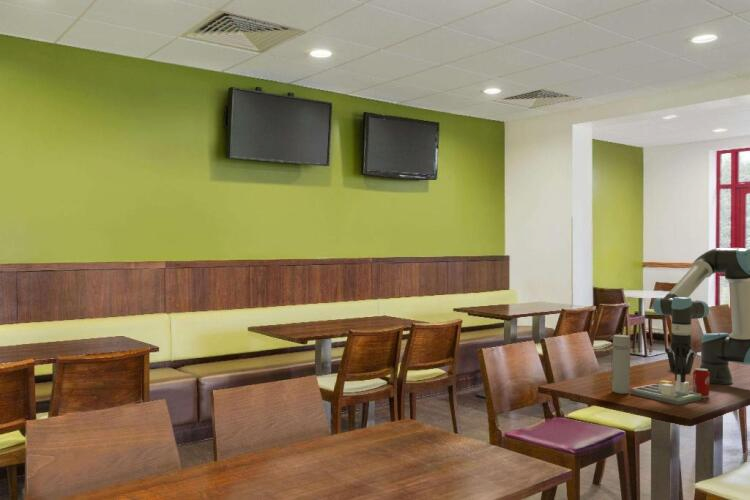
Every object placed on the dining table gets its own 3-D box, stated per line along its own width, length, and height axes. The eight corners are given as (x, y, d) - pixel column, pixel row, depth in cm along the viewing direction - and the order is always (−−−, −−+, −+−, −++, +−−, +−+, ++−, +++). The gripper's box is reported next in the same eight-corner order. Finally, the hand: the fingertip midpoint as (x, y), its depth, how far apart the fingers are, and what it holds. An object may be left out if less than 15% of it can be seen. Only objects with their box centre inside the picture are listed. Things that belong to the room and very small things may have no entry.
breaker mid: (663, 391, 282) (664, 380, 282) (672, 393, 279) (672, 381, 279) (658, 392, 280) (658, 381, 280) (667, 394, 277) (667, 382, 277)
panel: (653, 389, 293) (653, 383, 293) (701, 399, 275) (701, 393, 275) (630, 393, 284) (630, 388, 284) (678, 404, 266) (678, 398, 266)
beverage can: (710, 398, 277) (711, 370, 277) (695, 397, 278) (695, 370, 278) (706, 395, 283) (707, 367, 283) (690, 394, 284) (691, 367, 284)
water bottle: (630, 391, 289) (631, 335, 288) (629, 395, 282) (630, 337, 281) (608, 389, 293) (609, 333, 292) (606, 392, 285) (607, 336, 285)
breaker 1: (666, 395, 276) (666, 383, 276) (675, 397, 272) (675, 385, 272) (661, 396, 273) (661, 384, 273) (670, 398, 270) (670, 386, 270)
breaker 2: (680, 392, 282) (680, 380, 282) (689, 394, 278) (689, 382, 278) (675, 393, 279) (675, 381, 279) (684, 395, 276) (684, 383, 276)
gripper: (661, 332, 277) (660, 387, 277) (691, 336, 266) (690, 393, 267) (671, 331, 281) (670, 385, 282) (701, 335, 271) (700, 391, 271)
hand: (680, 389), depth 274 cm, fingers closed
